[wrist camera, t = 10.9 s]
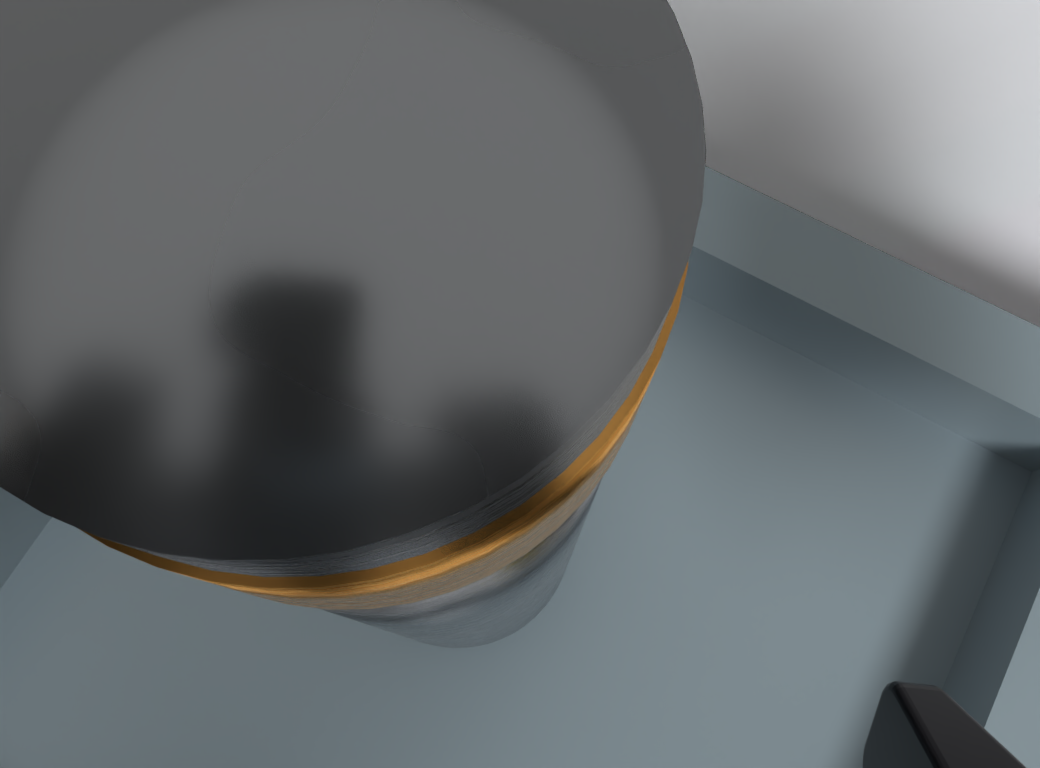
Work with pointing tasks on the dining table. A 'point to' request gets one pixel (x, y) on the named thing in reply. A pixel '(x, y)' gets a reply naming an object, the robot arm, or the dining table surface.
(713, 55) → the dining table surface
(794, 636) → the slate tray
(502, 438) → the steel pin
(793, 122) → the dining table surface
